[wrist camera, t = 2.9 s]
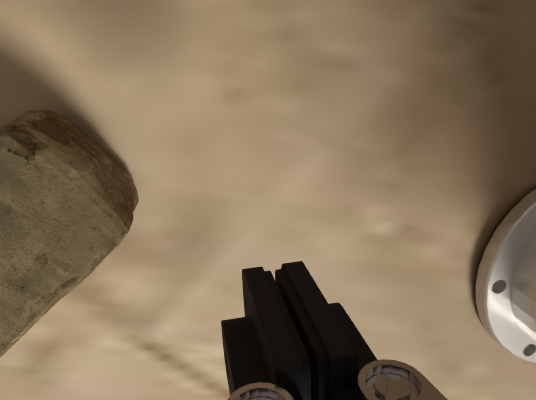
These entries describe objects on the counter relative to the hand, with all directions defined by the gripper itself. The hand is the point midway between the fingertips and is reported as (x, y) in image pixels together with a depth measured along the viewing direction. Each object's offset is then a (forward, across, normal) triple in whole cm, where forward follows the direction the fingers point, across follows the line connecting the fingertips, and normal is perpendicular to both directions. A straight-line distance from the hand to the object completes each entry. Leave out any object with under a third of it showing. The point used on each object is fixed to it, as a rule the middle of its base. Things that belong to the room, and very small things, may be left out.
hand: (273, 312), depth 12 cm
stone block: (+10, +10, +1) cm, 14 cm away
